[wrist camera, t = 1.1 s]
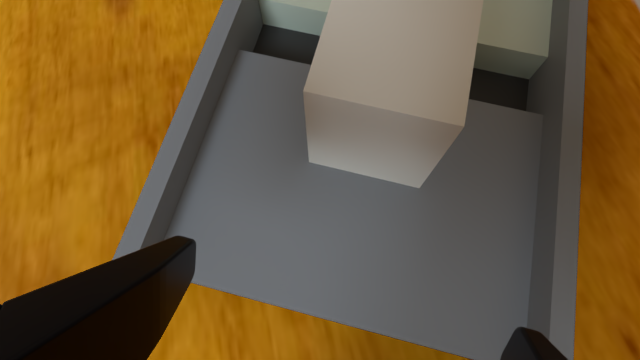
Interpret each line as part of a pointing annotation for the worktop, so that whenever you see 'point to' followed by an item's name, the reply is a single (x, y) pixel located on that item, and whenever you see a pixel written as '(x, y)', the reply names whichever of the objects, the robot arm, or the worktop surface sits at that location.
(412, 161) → the cream block
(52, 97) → the worktop surface
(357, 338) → the worktop surface
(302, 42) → the gray open tray
